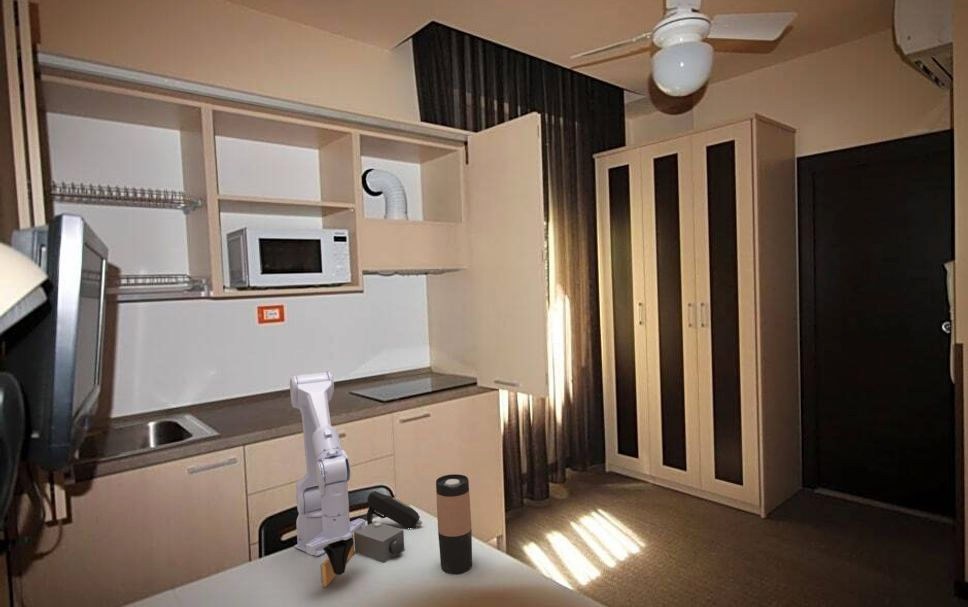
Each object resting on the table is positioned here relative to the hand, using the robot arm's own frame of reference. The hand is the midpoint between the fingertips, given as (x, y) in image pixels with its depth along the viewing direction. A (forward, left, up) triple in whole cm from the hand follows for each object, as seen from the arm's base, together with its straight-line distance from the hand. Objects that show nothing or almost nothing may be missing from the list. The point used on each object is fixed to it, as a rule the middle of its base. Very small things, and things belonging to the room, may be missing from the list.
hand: (339, 572), depth 118 cm
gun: (-10, +27, -3) cm, 29 cm away
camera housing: (-3, +15, -2) cm, 15 cm away
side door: (-5, +4, -2) cm, 7 cm away
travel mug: (+18, +19, -3) cm, 26 cm away
